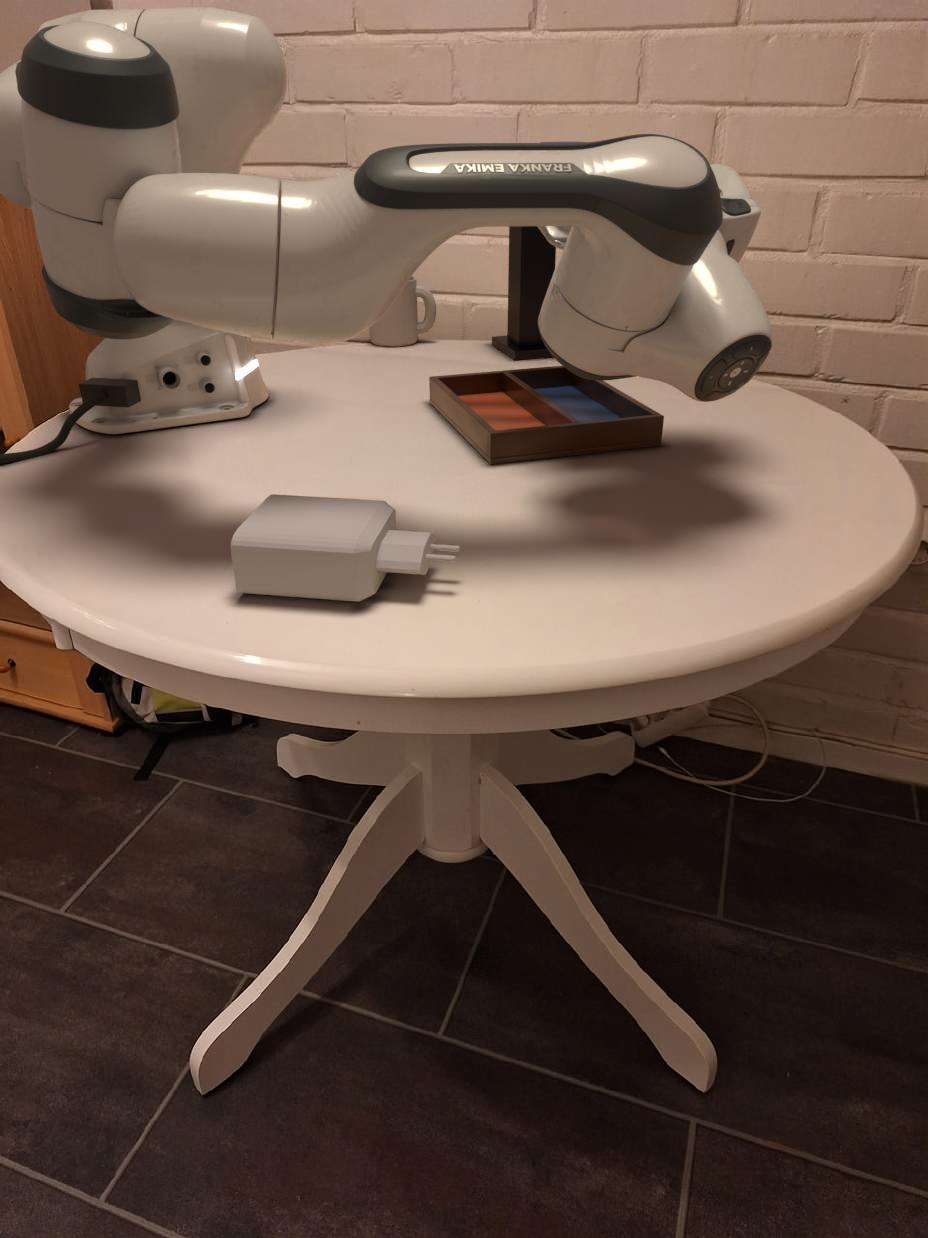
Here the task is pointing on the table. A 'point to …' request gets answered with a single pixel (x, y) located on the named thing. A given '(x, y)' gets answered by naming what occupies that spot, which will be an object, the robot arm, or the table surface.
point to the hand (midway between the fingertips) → (610, 151)
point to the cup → (404, 317)
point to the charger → (326, 548)
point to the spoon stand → (526, 292)
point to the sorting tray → (542, 414)
